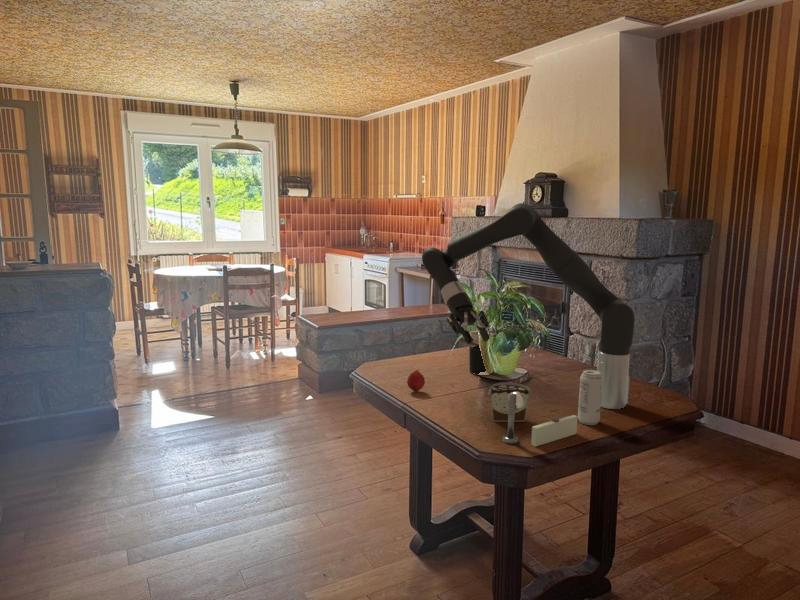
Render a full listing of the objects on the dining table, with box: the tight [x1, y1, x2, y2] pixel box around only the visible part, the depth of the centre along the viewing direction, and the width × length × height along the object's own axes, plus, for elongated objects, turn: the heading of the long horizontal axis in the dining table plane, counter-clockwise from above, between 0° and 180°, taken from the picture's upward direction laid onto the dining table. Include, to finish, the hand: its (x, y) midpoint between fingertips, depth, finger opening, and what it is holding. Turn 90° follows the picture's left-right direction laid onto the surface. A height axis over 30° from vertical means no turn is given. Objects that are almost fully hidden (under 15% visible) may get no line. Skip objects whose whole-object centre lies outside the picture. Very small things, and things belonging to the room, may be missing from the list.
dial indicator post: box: [502, 391, 524, 445], centre depth 144 cm, size 4×4×13 cm
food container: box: [488, 381, 532, 423], centre depth 161 cm, size 12×6×10 cm, turn 92°
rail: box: [530, 414, 578, 448], centre depth 146 cm, size 16×1×6 cm, turn 123°
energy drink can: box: [577, 369, 603, 426], centre depth 158 cm, size 6×6×15 cm
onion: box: [406, 368, 426, 393], centre depth 183 cm, size 6×6×8 cm
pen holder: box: [468, 344, 486, 374], centre depth 206 cm, size 9×9×10 cm
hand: (479, 341), depth 170 cm, fingers open, 6 cm apart
